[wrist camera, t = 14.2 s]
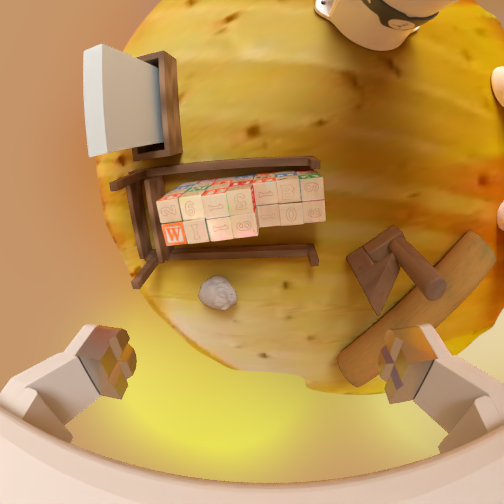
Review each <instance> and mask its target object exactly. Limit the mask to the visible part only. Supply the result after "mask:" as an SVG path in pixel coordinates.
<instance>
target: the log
mask: <svg viewBox="0 0 504 504" xmlns="http://www.w3.org/2000/svg"><path fill="white" fill-rule="evenodd" d="M496 260H497V259H496V256H495V254H494V252H493V251H492V249H491V248H490V246H489V245H488V244H487V243H486V242H485V241H484V240H483V239H482V238H481V237H480V236H479V235H478V234H477V233H475V232H474V231H472V230H470V231H468V232H467V233H466V234H465V235H464V236H463V237H462V238H461V239H460V240H459V241H458V242H457V243H456V245H455V246H454V247H453V248H452V249H451V250H450V251H449V252H448V253H447V254H446V256H445V257H444V258H443V259H442V260H441V261H440V262H439V263H438V264H437V265H436V266H435V267H434V268H435V269H436V270H437V271H438V272H439V273H440V274H441V275H442V277H443V278H444V279H445V280H446V285H447V286H446V290H445V292H444V294H443V295H442V296H441V297H440V298H439V299H437V300H434V301H430V300H428V299H426V297H425V296H424V295H423V293H422V292H421V291H420V290H419V288H418V287H417V286H416V287H415V288H414V289H413V290H412V291H411V292H410V293H409V294H408V295H407V296H405V297H404V298H403V299H402V300H401V301H400V302H399V303H398V304H397V305H396V306H395V307H394V308H393V309H391V310H390V311H389V312H388V313H387V314H386V315H385V316H384V317H383V318H381V319H380V320H379V321H378V322H377V323H376V324H374V325H373V326H372V327H371V328H370V329H369V330H367V331H366V332H365V333H364V334H363V335H361V336H360V337H359V338H358V339H356V340H355V341H354V342H353V343H352V344H350V345H349V346H348V347H347V348H345V349H344V350H343V351H342V352H341V353H340V354H339V355H338V357H337V361H338V365H339V367H340V369H341V371H342V373H343V375H344V376H345V378H346V379H347V380H348V381H349V383H351V384H352V385H353V386H355V387H359V386H361V385H363V384H365V383H367V382H368V381H370V380H371V379H373V378H374V377H376V376H377V375H378V374H379V370H378V356H379V353H380V350H381V349H382V348H383V347H384V346H385V345H386V343H385V341H384V337H385V333H386V332H387V330H388V329H395V328H403V327H410V326H416V325H422V324H428V323H429V324H431V325H432V326H433V327H434V329H435V328H436V327H437V326H438V325H439V324H440V323H441V322H442V321H443V320H445V319H446V318H447V317H448V316H449V315H450V314H451V313H452V312H453V311H454V310H455V309H456V308H457V307H458V306H459V305H460V304H461V303H462V302H463V301H464V300H465V298H466V297H467V296H468V295H469V294H470V293H471V292H472V291H473V290H474V289H475V288H476V287H477V285H478V284H479V283H480V282H481V281H482V280H483V278H484V277H485V276H486V275H487V274H488V272H489V271H490V270H491V269H492V267H493V265H494V264H495V262H496Z"/></svg>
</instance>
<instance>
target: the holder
mask: <svg viewBox="0 0 504 504" xmlns="http://www.w3.org/2000/svg"><path fill="white" fill-rule="evenodd" d="M137 58H138V59H140V60H142V61H144V62H146V63H149V64H151V65H153V66H155V67H157V68H159V82H160V100H161V114H162V126H163V137H164V147H165V149H160V150H153V147H152V144H150V145H145V146H139V147H134V148H132V152H133V160H134V161H140V160H146V159H152V158H159V157H166V156H172V155H175V154H179V153H182V152H183V150H182V139H181V127H180V115H179V101H178V85H177V65H176V59H175V58H174V57H172V56H171V55H169V54H168V53H166V52H165V51H160V52H156V53H152V54H148V55H144V56H140V57H137Z"/></svg>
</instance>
